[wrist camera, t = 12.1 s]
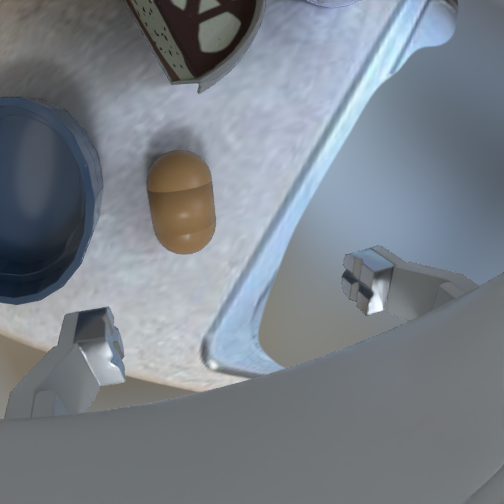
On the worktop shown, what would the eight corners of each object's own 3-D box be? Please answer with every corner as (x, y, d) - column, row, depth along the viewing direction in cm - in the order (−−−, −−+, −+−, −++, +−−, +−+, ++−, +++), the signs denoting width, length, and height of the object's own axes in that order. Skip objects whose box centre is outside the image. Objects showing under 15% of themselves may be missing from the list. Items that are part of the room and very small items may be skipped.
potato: (147, 151, 22) (137, 160, 18) (207, 143, 23) (210, 150, 19) (161, 242, 26) (156, 269, 22) (216, 235, 26) (221, 261, 22)
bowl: (-57, 131, 14) (-89, 139, 10) (90, 78, 18) (78, 69, 14) (-17, 284, 21) (-38, 315, 16) (119, 254, 24) (116, 285, 20)
